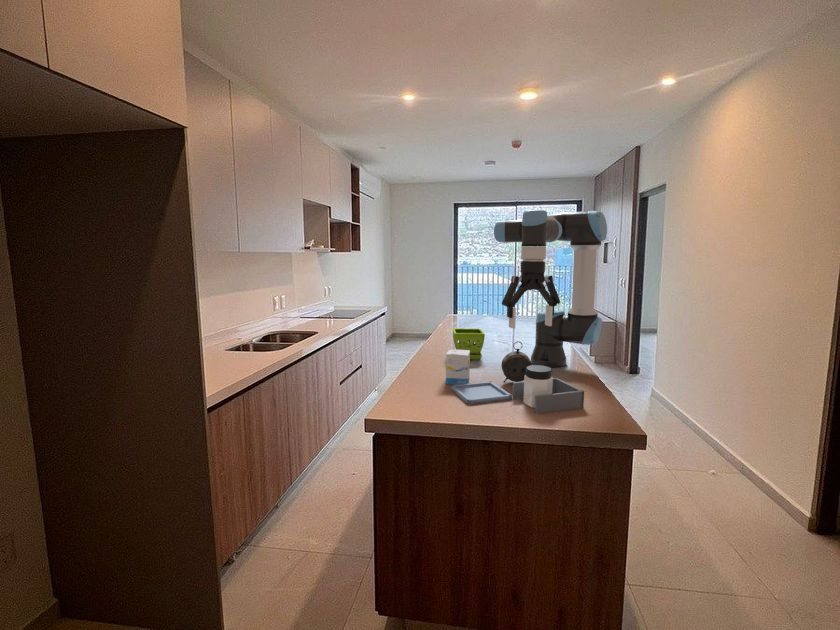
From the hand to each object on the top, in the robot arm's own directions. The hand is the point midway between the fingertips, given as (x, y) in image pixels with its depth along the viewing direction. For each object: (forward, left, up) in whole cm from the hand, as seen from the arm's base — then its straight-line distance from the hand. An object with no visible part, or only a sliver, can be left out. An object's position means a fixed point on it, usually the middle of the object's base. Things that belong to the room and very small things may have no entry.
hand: (530, 326), depth 140 cm
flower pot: (-4, -60, -26) cm, 66 cm away
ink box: (+14, -27, -26) cm, 40 cm away
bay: (-5, +3, -25) cm, 26 cm away
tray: (+12, -11, -25) cm, 30 cm away
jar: (-2, +3, -26) cm, 26 cm away
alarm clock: (-6, -18, -26) cm, 32 cm away
